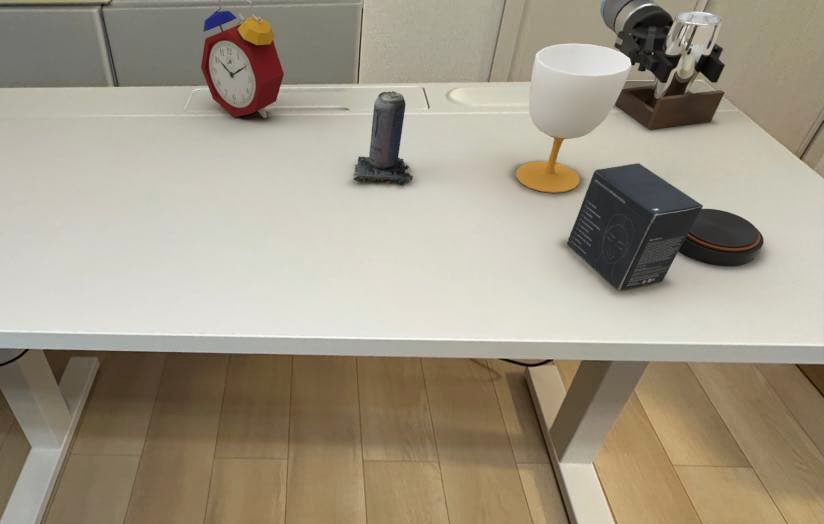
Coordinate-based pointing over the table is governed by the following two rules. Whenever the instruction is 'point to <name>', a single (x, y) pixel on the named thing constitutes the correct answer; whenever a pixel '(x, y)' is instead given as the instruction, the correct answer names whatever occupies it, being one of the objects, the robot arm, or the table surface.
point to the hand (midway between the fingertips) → (692, 74)
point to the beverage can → (385, 142)
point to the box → (632, 225)
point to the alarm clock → (241, 64)
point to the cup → (570, 103)
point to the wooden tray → (669, 107)
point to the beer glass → (686, 52)
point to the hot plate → (722, 239)
